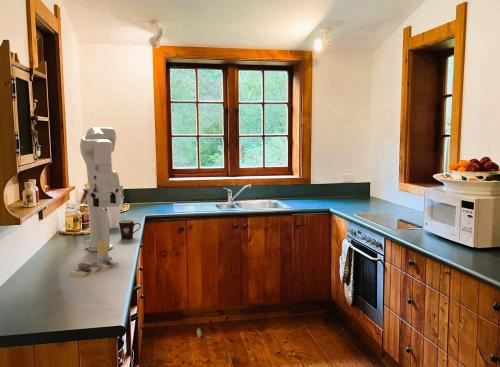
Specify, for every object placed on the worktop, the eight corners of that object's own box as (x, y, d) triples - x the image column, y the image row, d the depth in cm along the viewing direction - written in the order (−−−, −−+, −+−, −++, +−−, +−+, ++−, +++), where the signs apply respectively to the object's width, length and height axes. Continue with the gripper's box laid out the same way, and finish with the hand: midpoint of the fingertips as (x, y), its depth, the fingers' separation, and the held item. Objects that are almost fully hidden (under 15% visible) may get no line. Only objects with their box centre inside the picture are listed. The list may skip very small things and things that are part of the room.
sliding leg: (107, 264, 207) (106, 242, 206) (97, 262, 211) (96, 240, 210) (112, 262, 210) (112, 241, 209) (102, 260, 214) (101, 239, 212)
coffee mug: (116, 239, 262) (115, 222, 260) (124, 236, 270) (123, 219, 269) (134, 240, 259) (134, 223, 258) (142, 237, 267) (141, 220, 266)
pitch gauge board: (82, 277, 195) (82, 267, 195) (70, 274, 199) (69, 265, 199) (118, 265, 212) (117, 256, 212) (106, 262, 216) (105, 254, 216)
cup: (103, 227, 295) (102, 199, 293) (119, 224, 302) (118, 198, 299) (109, 229, 287) (107, 201, 285) (125, 227, 293) (124, 200, 291)
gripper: (93, 170, 197) (94, 208, 200) (123, 166, 212) (124, 202, 214) (81, 169, 201) (83, 207, 204) (112, 165, 216) (114, 201, 218)
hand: (104, 204), depth 209 cm, fingers open, 9 cm apart
